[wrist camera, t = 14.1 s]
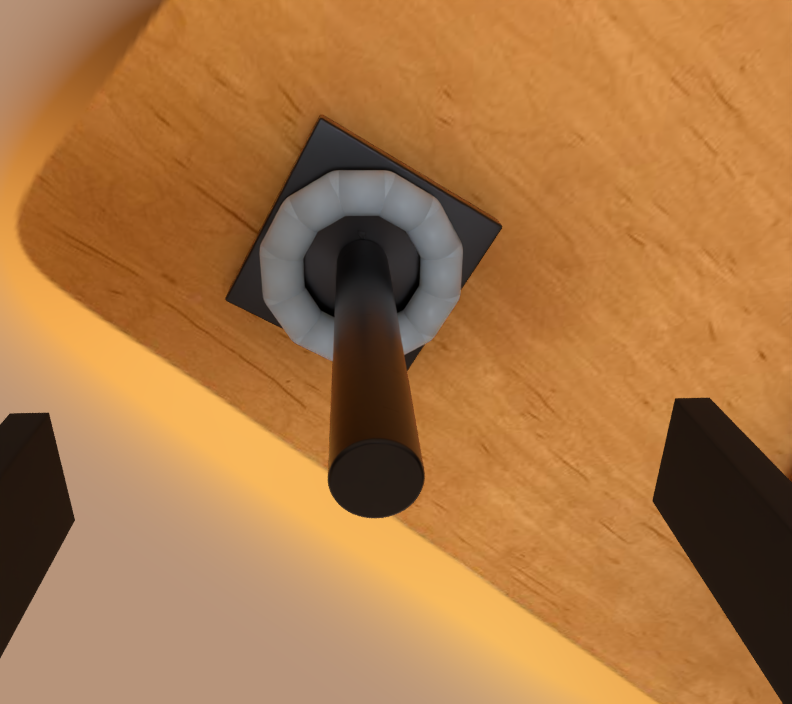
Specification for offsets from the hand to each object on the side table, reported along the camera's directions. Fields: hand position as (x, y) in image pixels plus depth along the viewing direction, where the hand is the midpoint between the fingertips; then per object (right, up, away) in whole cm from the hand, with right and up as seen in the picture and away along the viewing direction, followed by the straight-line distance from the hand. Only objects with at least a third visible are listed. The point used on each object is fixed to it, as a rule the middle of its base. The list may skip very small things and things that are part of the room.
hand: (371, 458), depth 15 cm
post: (-1, +6, +13) cm, 14 cm away
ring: (-1, +5, +11) cm, 12 cm away
